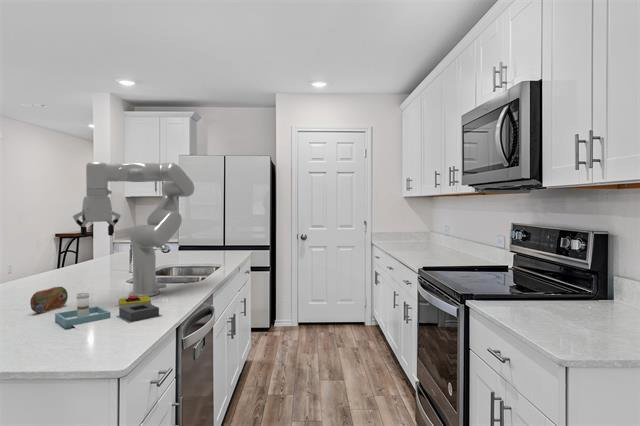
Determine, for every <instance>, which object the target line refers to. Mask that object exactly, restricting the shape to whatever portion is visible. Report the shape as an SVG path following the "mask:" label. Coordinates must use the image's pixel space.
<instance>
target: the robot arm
mask: <svg viewBox="0 0 640 426" xmlns="http://www.w3.org/2000/svg"><path fill="white" fill-rule="evenodd" d="M85 167H86V168H85V169H86V170H85V171H86V172H85V173H86V177H85V178H86V180H85V183H86V184H85V185H86V191H85V192H86V196H84V197H83V201H82V208H81V211H80V212H78V213H76V214H74V215H73V216H72V218H73V220H74V221H75V223H76V224H77V225H78V226H79V227H80V235H81V236H82V237H83V238H87V237H88V235H87V234H88V233H87V232H88V231H87V230H88V229H87V224H88V223H96V222H97V223H98V222H99V223H100V222H101V223H102V222H106V223H107V224H108V227H107V235H108V236H111V237H112V236H113V235H114V233H115V230H114V229H115V225H116V224H117V223H118V222H119V220H120V218H121V214H119V213H117V212H115V211H113V209H112V202H111V197H110V196H109V195H112V190H109V187H108V185H109V184H108V183H109V182H114V183H115V182H116V183H117V182H127V183H130V182H131V183H147V182H152V183H153V182H154V183H156V182H163V183H162V186H161V194H162V195H161V196H162V198H161V199H162V200H161V202H160V203H159V204H158V206H157V207H156V208H155V209H154V210H153V211H152V212H151V213H150V214H149V215H148V217H147V220H146V222H147V223H146V224H138V225H135V226H134V227H133V228H131V230H130V234H129V239H130V244H131V249H132V290H131V291H130V292H129V294H128V295H129V296H128V297H130V296H138V297H143V296H149V297H153V296H156V295H159V294H160V289H164V288H167V283H157V281H156V280H157V279H156V278H157V276H156V270H157V269H156V267H157V265H156V252H155V251H156V250H155V249H154V248H155V247H156V248H157V247H158V248H159V247H163V246H165V245H166V244H167V243H168V242H169V241H170V240H171V239H172V238H173V236H174V235H175V234H176V233H177V231H178V230H179V229H180V227H181V225H182V222H183V221H182V220H183V219H182V214H180V212H179V211H178V210H179V205H178V199H177V198H178V197H180V198H185V197H191V196H192V195H193V194H194V193H195V185H194V183H193V180H192V179H191V178H190V177H189V176H188V175H187V174H186V172H185V171H184V170H183V169H182V167H180V166H179V165H178V164H176V163H175V162H165V163H164V162H163V163H161V162H158V163H155V162H154V163H153V162H152V163H151V162H134V163H132V162H131V163H117V162H114V163H112V162H111V163H106V162H101V161H89V162H87V163H86V165H85ZM113 216H115V217H114V219H113ZM79 217H81V220H82V221H81V220H80V218H79Z"/></svg>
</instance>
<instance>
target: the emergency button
mask: <svg viewBox="0 0 640 426" xmlns="http://www.w3.org/2000/svg"><path fill="white" fill-rule="evenodd" d="M143 303H148V304H151V305H152V300H151V298H150V296H143V297H138V296H128V297H125V298H119V299H118V304H116V305H114V307H118V308H121V307H126V306H132V305H138V304H143Z"/></svg>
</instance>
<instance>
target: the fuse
mask: <svg viewBox="0 0 640 426" xmlns="http://www.w3.org/2000/svg"><path fill="white" fill-rule="evenodd" d="M89 308H90V293H89V292H81V293H77V294H76V310H77V316H76V318H78V317H83V316H89V315H90V314H89Z"/></svg>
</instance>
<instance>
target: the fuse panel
mask: <svg viewBox="0 0 640 426" xmlns="http://www.w3.org/2000/svg"><path fill="white" fill-rule="evenodd" d="M118 308H119V311H118V312H119V313H118V315H115V317H116V318H118V319H121V320H122V321H124V322H126V323H128V324H132V323H135V322H140V321H146V320H150V319H155V318H159V317H160V318H161V317H163V315H162V314H160V307H158V306H156V305H153V304H152V303H151V304H148V303H143V304H138V305H132V306H126V307H121V308H120V307H118Z"/></svg>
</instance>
